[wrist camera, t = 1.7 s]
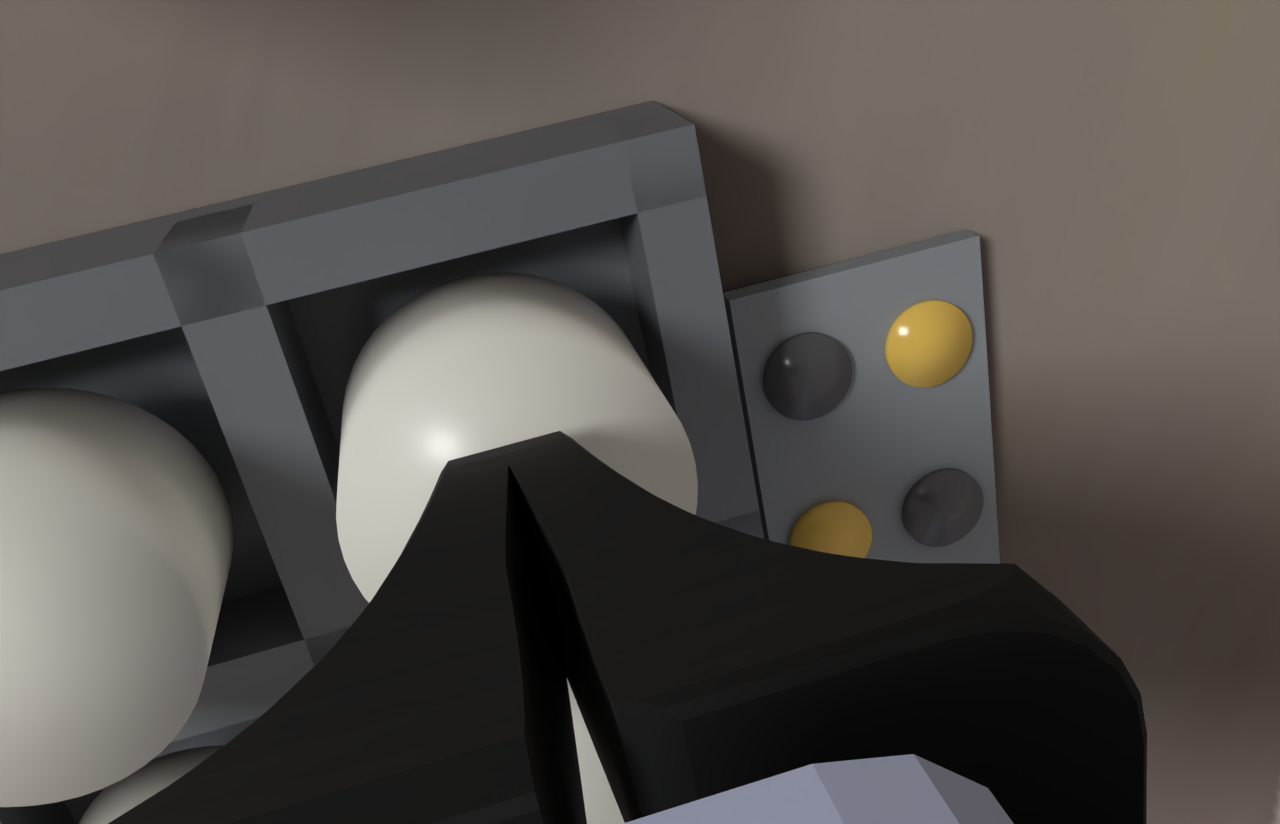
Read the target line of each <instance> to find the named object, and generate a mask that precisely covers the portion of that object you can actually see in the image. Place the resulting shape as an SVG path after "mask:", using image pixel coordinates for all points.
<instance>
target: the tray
mask: <svg viewBox="0 0 1280 824" xmlns="http://www.w3.org/2000/svg"><path fill="white" fill-rule="evenodd" d="M494 272H509V273H523V274H528V275H533V276H538V277H543V278H546V279H549V280H552V281H555V282H558V283H561V284H564V285H566V286H568V287H570V288H572V289H574V290H576V291H578V292H580V293H581V294H583V295H584V296H586V297H587V298H589V299H590V300H592V301H593V302H595V303H596V304H597V305H598V306H600V307H601V308H602V309H603V310H604V311H605V312H606V313H607V314H608V315H610V316H611V317H612V319H613V320H614V321H615V322H616V323H617V324H618V326H619V327H620V328H621V329H622V330H623V332H624V333H625V335H626V337H627V338H628V340H629V341H630V343H631V344H632V346H633V348H634V349H635V351H636V352H637V354H638V355H639V357H640V359H641V360H642V362H643V363H644V365H645V366H646V368H647V370H648V371H649V373H650V374H651V376H652V377H653V379H654V381H655V382H656V384H657V385H658V387H659V389H660V390H661V392H662V393H663V395H664V396H665V398H666V400H667V401H668V403H669V404H670V406H671V407H672V409H673V411H674V412H675V414H676V415H677V417H678V419H679V420H680V422H681V423H682V426H683V428H684V430H685V432H686V435H687V437H688V439H689V442H690V445H691V448H692V452H693V456H694V459H695V463H696V472H697V480H698V497H697V509H696V515H697V516H699V517H701V518H704V519H706V520H709V521H712V522H714V523H717V524H720V525H723V526H726V527H729V528H732V529H734V530H737V531H740V532H743V533H746V534H749V535H752V536H756V537H759V538H763V539H764V535H763V529H762V523H761V517H760V511H759V505H758V499H757V493H756V487H755V481H754V475H753V469H752V463H751V457H750V451H749V445H748V439H747V433H746V428H745V422H744V416H743V410H742V404H741V398H740V392H739V386H738V380H737V374H736V368H735V362H734V356H733V350H732V344H731V338H730V332H729V326H728V320H727V314H726V309H725V303H724V297H723V291H722V285H721V279H720V273H719V267H718V261H717V255H716V249H715V243H714V237H713V231H712V225H711V219H710V213H709V207H708V201H707V195H706V190H705V184H704V178H703V172H702V166H701V160H700V154H699V148H698V142H697V136H696V130H695V124H693V123H692V122H690V121H688V120H686V119H685V118H683V117H681V116H680V115H678V114H676V113H674V112H673V111H671V110H669V109H667V108H666V107H664V106H662V105H661V104H659V103H657V102H655V101H650V102H645V103H641V104H637V105H633V106H628V107H624V108H620V109H616V110H611V111H607V112H603V113H599V114H595V115H590V116H586V117H582V118H578V119H573V120H569V121H565V122H561V123H556V124H552V125H548V126H544V127H539V128H535V129H531V130H527V131H522V132H518V133H514V134H510V135H506V136H501V137H497V138H493V139H489V140H484V141H480V142H476V143H472V144H467V145H463V146H459V147H455V148H450V149H446V150H442V151H438V152H434V153H429V154H425V155H421V156H417V157H412V158H408V159H404V160H400V161H395V162H391V163H387V164H383V165H378V166H374V167H370V168H366V169H361V170H357V171H353V172H349V173H345V174H340V175H336V176H332V177H328V178H323V179H319V180H315V181H311V182H306V183H302V184H298V185H294V186H289V187H285V188H281V189H277V190H273V191H268V192H264V193H260V194H256V195H251V196H247V197H243V198H239V199H234V200H230V201H226V202H222V203H217V204H213V205H209V206H205V207H201V208H196V209H192V210H188V211H184V212H179V213H175V214H171V215H167V216H162V217H158V218H154V219H150V220H145V221H141V222H137V223H133V224H128V225H124V226H120V227H116V228H112V229H107V230H103V231H99V232H95V233H90V234H86V235H82V236H78V237H73V238H69V239H65V240H61V241H56V242H52V243H48V244H44V245H40V246H35V247H31V248H27V249H23V250H18V251H14V252H10V253H6V254H1V255H0V392H5V391H11V390H16V389H23V388H37V387H56V388H72V389H78V390H85V391H91V392H95V393H99V394H103V395H107V396H110V397H114V398H117V399H120V400H122V401H125V402H127V403H130V404H132V405H135V406H137V407H139V408H141V409H143V410H145V411H147V412H149V413H151V414H153V415H155V416H156V417H158V418H160V419H161V420H162V421H164V422H165V423H167V424H168V425H170V426H171V427H173V428H174V429H176V430H177V431H178V432H179V433H180V434H181V435H182V436H184V437H185V438H186V439H187V440H188V441H189V442H190V443H192V444H193V446H194V447H195V448H196V449H197V450H198V451H199V452H200V454H201V455H202V456H203V457H204V458H205V459H206V461H207V462H208V464H209V465H210V467H211V468H212V470H213V471H214V473H215V474H216V475H217V477H218V480H219V482H220V484H221V486H222V488H223V490H224V492H225V494H226V497H227V501H228V504H229V507H230V510H231V516H232V522H233V528H234V547H233V553H232V559H231V565H230V569H229V574H228V578H227V582H226V587H225V591H224V596H223V600H222V604H221V609H220V613H219V617H218V622H217V626H216V630H215V635H214V639H213V644H212V648H211V652H210V657H209V661H208V665H207V670H206V674H205V678H204V683H203V686H202V689H201V692H200V695H199V698H198V701H197V703H196V705H195V707H194V709H193V711H192V713H191V715H190V717H189V719H188V720H187V722H186V723H185V725H184V726H183V727H182V729H181V730H180V732H179V733H178V734H177V736H176V737H175V738H174V739H173V740H172V741H171V742H170V743H169V744H168V746H167V747H166V748H165V749H164V750H163V751H162V752H161V753H160V754H158V755H157V756H156V757H155V758H158V757H161V756H163V755H166V754H169V753H173V752H177V751H181V750H186V749H190V748H198V747H206V746H224V745H226V744H227V743H229V742H230V741H231V740H232V739H233V738H235V737H236V736H237V735H238V734H240V733H241V732H242V731H243V730H245V729H246V728H247V727H248V726H250V725H251V724H252V723H253V722H255V721H256V720H257V719H258V718H259V717H261V716H262V715H263V714H264V713H265V712H266V711H268V710H269V709H270V708H271V707H272V706H273V705H274V704H275V703H276V702H277V701H278V700H279V699H280V698H281V697H282V696H284V695H285V694H286V693H287V692H288V691H289V690H290V689H291V688H292V687H293V686H294V685H295V684H296V683H297V682H298V681H299V680H300V679H301V678H302V677H304V676H305V675H306V674H307V673H308V672H309V671H310V670H311V669H312V668H313V667H314V666H315V665H316V664H317V663H318V662H319V661H320V660H321V659H322V658H323V657H324V656H325V655H326V654H327V653H328V652H329V651H330V650H331V649H332V647H333V646H334V645H335V644H336V643H337V642H338V641H339V639H340V638H341V637H342V636H343V635H344V634H345V632H346V631H347V630H348V629H349V628H350V627H351V625H352V624H353V623H354V622H355V621H356V620H357V618H358V617H359V616H360V614H361V613H362V612H363V611H364V609H365V608H366V607H367V606H368V604H369V602H368V601H367V600H366V599H365V598H364V596H363V595H362V593H361V592H360V590H359V589H358V587H357V585H356V584H355V582H354V581H353V579H352V577H351V574H350V572H349V570H348V568H347V566H346V563H345V561H344V558H343V554H342V551H341V547H340V543H339V540H338V531H337V523H336V504H337V486H338V471H339V456H340V441H341V426H342V411H343V401H344V396H345V390H346V385H347V382H348V379H349V376H350V373H351V370H352V367H353V365H354V363H355V361H356V359H357V357H358V355H359V353H360V351H361V349H362V348H363V346H364V345H365V344H366V342H367V341H368V339H369V338H370V336H371V335H372V333H373V332H374V331H375V330H376V329H377V328H378V327H379V326H380V324H381V323H382V322H383V321H384V320H385V319H386V318H387V317H388V316H389V315H390V314H392V313H393V312H394V311H395V310H396V309H398V308H399V307H400V306H401V305H402V304H404V303H405V302H407V301H408V300H410V299H412V298H413V297H415V296H416V295H418V294H420V293H421V292H423V291H425V290H428V289H430V288H432V287H434V286H436V285H438V284H440V283H444V282H447V281H450V280H453V279H456V278H459V277H464V276H469V275H475V274H480V273H494ZM155 758H153V759H155ZM107 787H108V786H107ZM105 788H106V787H105ZM105 788H103V789H101V790H98V791H95V792H92V793H89V794H86V795H83V796H81V797H77V798H73V799H68V800H64V801H60V802H56V803H49V804H42V805H35V806H21V807H0V824H79V822H80V820H81V818H82V816H83V814H84V813H85V812H86V810H87V809H88V807H89V806H90V805H91V803H92V802H93V801H94V800H95V798H96V797H97V796H98V795H99V794H100V793H101V792H102V791H103V790H104V789H105Z"/></svg>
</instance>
